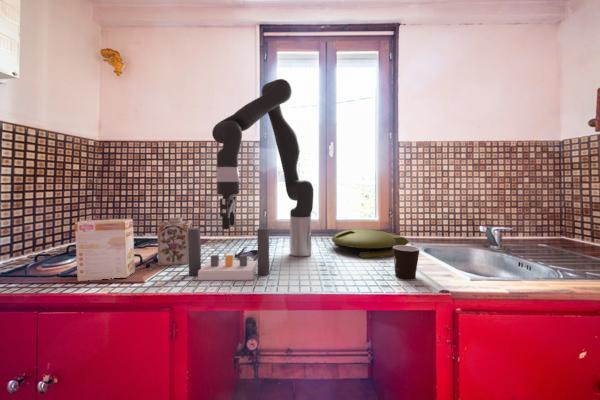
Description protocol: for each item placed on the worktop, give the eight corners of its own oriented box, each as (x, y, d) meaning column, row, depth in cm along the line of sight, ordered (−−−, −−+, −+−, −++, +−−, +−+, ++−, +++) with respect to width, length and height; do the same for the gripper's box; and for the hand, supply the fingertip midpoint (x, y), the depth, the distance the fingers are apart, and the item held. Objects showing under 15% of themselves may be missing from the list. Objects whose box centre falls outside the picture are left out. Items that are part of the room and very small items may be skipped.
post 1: (202, 272, 102) (201, 228, 101) (199, 276, 98) (198, 230, 97) (191, 272, 102) (190, 228, 101) (187, 276, 98) (186, 230, 97)
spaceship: (380, 241, 158) (380, 224, 157) (419, 254, 129) (419, 233, 128) (322, 245, 147) (322, 227, 146) (350, 261, 118) (350, 238, 117)
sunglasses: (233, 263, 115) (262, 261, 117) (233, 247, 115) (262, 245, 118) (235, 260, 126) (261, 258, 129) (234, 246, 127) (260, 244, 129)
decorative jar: (157, 266, 109) (156, 219, 108) (165, 258, 121) (164, 216, 119) (190, 264, 112) (189, 219, 111) (194, 256, 123) (193, 215, 122)
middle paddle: (233, 264, 101) (233, 254, 100) (232, 266, 99) (232, 255, 99) (226, 264, 100) (226, 254, 100) (225, 266, 99) (225, 255, 99)
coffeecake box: (135, 272, 101) (133, 218, 100) (126, 279, 94) (124, 221, 93) (89, 274, 99) (86, 219, 98) (76, 281, 92) (73, 222, 91)
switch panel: (257, 268, 106) (256, 251, 106) (252, 279, 94) (252, 260, 94) (208, 268, 106) (208, 251, 105) (198, 280, 94) (197, 260, 93)
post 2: (269, 271, 102) (269, 228, 101) (268, 275, 98) (268, 230, 97) (258, 272, 102) (258, 228, 101) (257, 275, 98) (256, 230, 97)
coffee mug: (416, 282, 92) (417, 252, 91) (389, 278, 96) (389, 248, 96) (422, 273, 101) (422, 245, 101) (397, 269, 106) (398, 242, 105)
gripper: (234, 180, 91) (235, 230, 92) (242, 180, 105) (243, 223, 106) (211, 180, 91) (212, 230, 92) (222, 180, 105) (223, 224, 106)
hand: (228, 227), depth 99 cm, fingers open, 8 cm apart
